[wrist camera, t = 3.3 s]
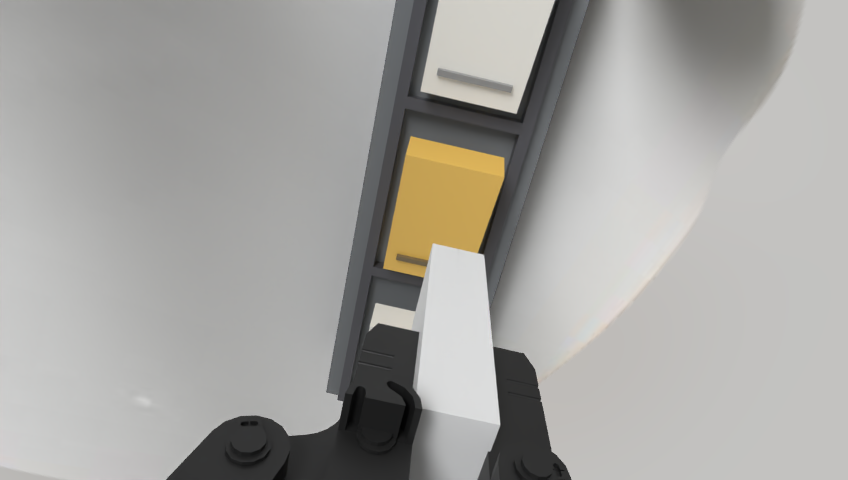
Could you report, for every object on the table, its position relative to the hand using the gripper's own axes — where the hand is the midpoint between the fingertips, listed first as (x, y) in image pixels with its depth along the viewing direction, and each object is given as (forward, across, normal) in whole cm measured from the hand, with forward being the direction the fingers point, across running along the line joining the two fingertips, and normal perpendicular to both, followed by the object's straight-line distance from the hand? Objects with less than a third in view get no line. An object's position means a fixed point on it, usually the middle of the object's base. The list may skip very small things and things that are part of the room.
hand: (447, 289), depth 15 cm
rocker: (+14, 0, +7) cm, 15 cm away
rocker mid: (+14, 0, -3) cm, 14 cm away
